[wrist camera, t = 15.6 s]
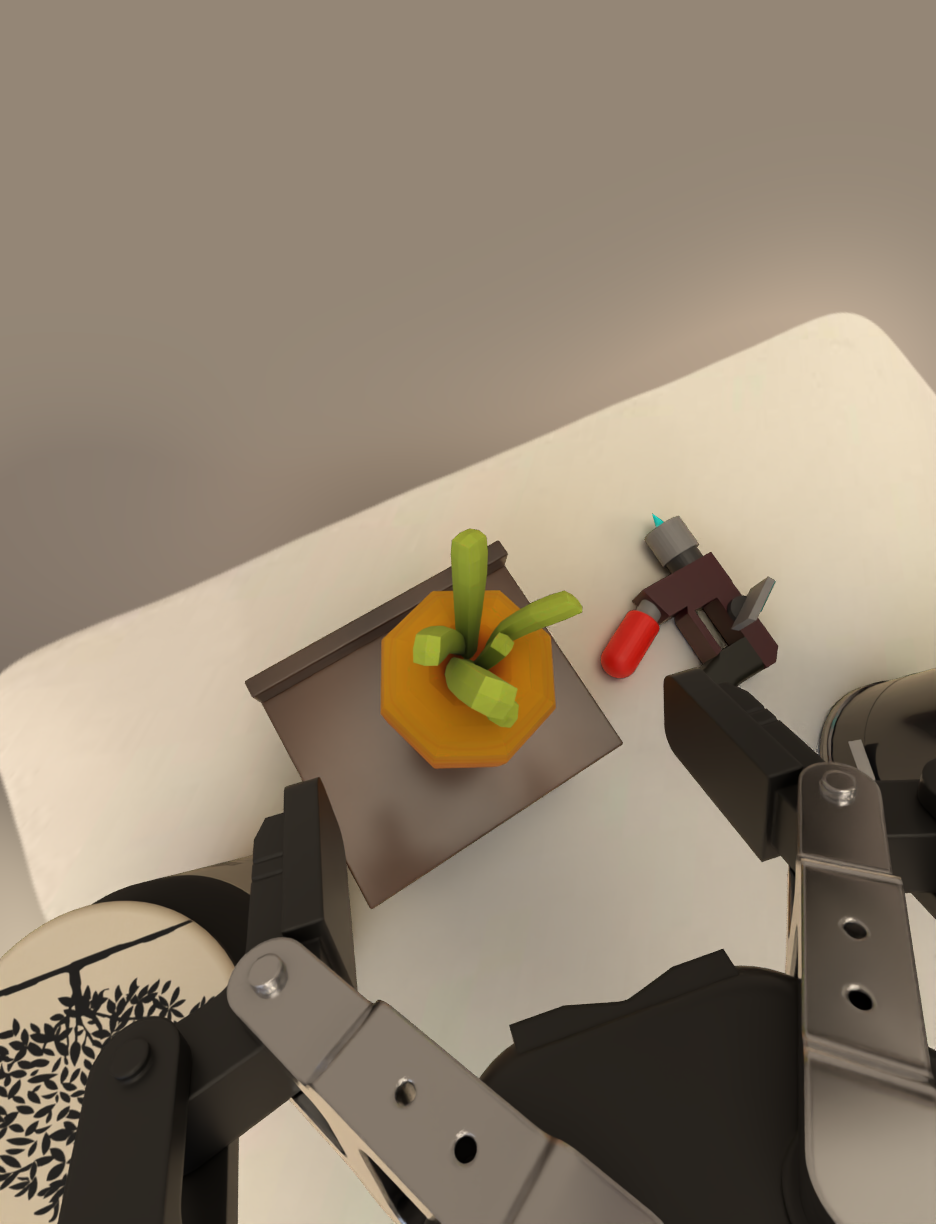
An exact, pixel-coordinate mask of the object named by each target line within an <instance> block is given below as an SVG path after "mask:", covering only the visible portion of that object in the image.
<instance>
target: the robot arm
mask: <svg viewBox="0 0 936 1224" xmlns="http://www.w3.org/2000/svg"><path fill="white" fill-rule="evenodd" d="M664 726H665V733H666V737H667V740H668V743H669V745H670V747H671V749H672V751H673V753H674V754H675V755H676V757H677V758H678V759H679V760H680V761H681V763H682V764H683V765H684V766H685V768H686V769H687V770H688V771H689V773H690V774H691V775H692V776H693V778H694V779H695V780H696V781H697V782H698V784H699V785H700V786H701V787H702V789H703V790H704V791H705V792H706V794H707V795H708V796H709V797H710V799H711V800H712V801H713V802H714V804H715V805H716V806H717V807H718V808H719V810H720V811H721V812H722V813H723V815H724V816H725V817H726V818H727V820H728V821H729V822H730V823H731V825H732V826H733V827H734V828H735V830H736V831H737V832H738V833H739V834H740V836H741V837H742V838H743V839H744V841H745V842H746V843H747V844H748V846H749V847H750V848H751V849H752V851H753V852H754V853H755V854H756V856H757V857H758V858H759V859H760V860H761V862H764V861H766V860H769V859H772V858H775V857H778V856H782V858H783V859H784V860H785V861H786V862H787V864H788V874H787V935H786V966H785V973H782V972H778V971H775V970H771V969H767V968H761V967H755V966H734V965H733V963H732V962H731V960H730V959H729V957H728V956H727V954H726V952H725V951H724V949H721V950H718V951H716V952H713V953H710V954H707V955H704V956H701V957H699V958H696V959H693V960H690V961H687V962H685V963H682V964H679V965H676V966H673V967H672V968H670V969H669V970H667V971H666V972H665V973H663V974H662V975H661V976H659V977H658V978H657V979H655V980H654V981H653V982H651V983H650V984H648V985H647V986H646V987H644V988H643V989H642V990H640V991H639V992H638V993H636V994H635V995H634V996H632V997H631V998H629V999H627V1000H625V1001H620V1002H608V1003H594V1004H580V1005H566V1006H561V1007H559V1008H556V1009H553V1010H550V1011H547V1012H545V1013H542V1014H539V1015H536V1016H533V1017H531V1018H528V1019H525V1020H522V1021H519V1022H517V1023H514V1024H511V1025H509V1026H510V1030H511V1034H512V1038H513V1042H514V1044H512V1045H511V1046H510V1047H508V1048H507V1049H506V1050H504V1051H503V1052H502V1053H501V1054H500V1055H499V1056H498V1057H497V1058H496V1059H495V1060H494V1061H492V1063H491V1064H490V1065H489V1066H488V1068H487V1069H486V1070H485V1071H484V1072H483V1074H482V1075H481V1077H480V1078H478V1077H476V1076H475V1075H474V1074H473V1073H472V1072H470V1071H469V1070H468V1069H467V1068H465V1067H464V1066H463V1065H462V1064H461V1063H459V1062H458V1061H457V1060H456V1059H455V1058H453V1057H452V1056H451V1055H450V1054H449V1053H447V1052H446V1051H445V1050H444V1049H443V1048H441V1047H440V1046H439V1045H438V1044H436V1043H435V1042H434V1041H433V1040H432V1039H430V1038H429V1037H428V1036H427V1035H426V1034H424V1033H423V1032H422V1031H421V1030H420V1029H418V1028H417V1027H416V1026H415V1025H414V1024H412V1023H411V1022H410V1021H409V1020H407V1019H406V1018H405V1017H404V1016H403V1015H401V1014H400V1013H399V1012H398V1011H397V1010H395V1009H394V1008H393V1007H392V1006H390V1005H389V1004H387V1003H386V1002H384V1001H381V1000H377V1001H376V1002H375V1003H371V1002H370V1001H368V1000H367V999H366V998H364V997H363V996H362V995H361V994H360V993H359V992H358V990H357V979H356V967H355V956H354V945H353V933H352V922H351V911H350V900H349V888H348V877H347V866H346V855H345V848H344V843H343V838H342V834H341V831H340V827H339V824H338V822H337V819H336V817H335V814H334V811H333V809H332V806H331V803H330V801H329V798H328V795H327V793H326V790H325V787H324V785H323V782H322V780H321V778H320V777H317V778H313V779H310V780H306V781H303V782H300V783H296V784H293V785H289V786H286V787H285V789H284V813H281V814H277V815H274V816H271V817H267V818H265V820H264V822H263V824H262V826H261V827H260V829H259V831H258V833H257V835H256V837H255V839H254V848H253V865H252V875H251V879H252V883H251V889H250V902H249V916H248V929H247V943H246V951H245V955H244V956H243V957H242V958H241V959H240V961H239V962H238V963H237V965H236V966H235V968H234V970H233V971H232V973H231V976H230V978H229V981H228V985H227V986H226V987H225V988H224V990H223V991H221V992H220V993H219V994H218V995H217V996H216V997H214V998H213V999H212V1000H210V1001H209V1002H207V1003H206V1004H204V1005H203V1006H201V1007H200V1008H198V1009H197V1010H195V1011H194V1012H192V1013H191V1014H189V1015H188V1016H186V1017H184V1018H183V1019H181V1020H180V1021H178V1022H177V1023H175V1024H174V1023H173V1022H172V1021H171V1020H169V1019H168V1018H166V1017H162V1016H150V1017H145V1018H142V1019H139V1020H137V1021H135V1022H133V1023H131V1024H129V1025H128V1026H126V1027H124V1028H123V1029H122V1030H121V1031H119V1032H118V1033H117V1034H116V1035H115V1036H114V1037H113V1038H111V1039H110V1040H109V1042H108V1043H107V1044H106V1045H105V1046H104V1047H103V1049H102V1050H101V1052H100V1053H99V1054H98V1056H97V1058H96V1059H95V1061H94V1063H93V1065H92V1067H91V1069H90V1072H89V1075H88V1079H87V1083H86V1087H85V1092H84V1097H83V1102H82V1107H81V1112H80V1116H79V1121H78V1126H77V1131H76V1136H75V1141H74V1145H73V1150H72V1155H71V1160H70V1165H69V1170H68V1174H67V1179H66V1184H65V1189H64V1194H63V1199H62V1204H61V1208H60V1213H59V1218H58V1223H57V1224H238V1155H239V1137H240V1136H241V1135H242V1134H244V1133H245V1132H246V1131H248V1130H249V1129H250V1128H252V1127H253V1126H254V1125H256V1124H257V1123H258V1122H260V1121H261V1120H262V1119H264V1118H265V1117H266V1116H268V1115H269V1114H270V1113H272V1112H273V1111H274V1110H276V1109H277V1108H278V1107H279V1106H281V1105H282V1104H283V1103H285V1102H286V1101H287V1100H290V1101H291V1102H292V1103H293V1105H294V1106H295V1107H296V1108H297V1109H298V1110H299V1111H300V1112H301V1113H302V1115H303V1116H304V1117H305V1118H306V1119H307V1120H308V1121H309V1122H310V1123H311V1125H312V1126H313V1127H314V1128H315V1129H316V1130H317V1131H318V1132H319V1133H320V1135H321V1136H322V1137H323V1138H324V1139H325V1140H326V1141H327V1142H328V1144H329V1145H330V1146H331V1147H332V1148H333V1149H334V1150H335V1151H336V1152H337V1154H338V1155H339V1156H340V1157H341V1158H342V1159H343V1160H344V1161H345V1162H346V1164H347V1165H348V1166H349V1167H350V1168H351V1169H352V1171H353V1172H354V1173H355V1174H356V1176H357V1177H358V1178H359V1179H360V1181H361V1182H362V1183H363V1185H364V1186H365V1188H366V1189H367V1190H368V1192H369V1193H370V1194H371V1195H372V1197H373V1198H374V1199H375V1200H376V1202H377V1203H378V1204H379V1205H380V1207H381V1208H382V1209H383V1210H384V1211H385V1212H386V1214H387V1215H388V1216H389V1217H390V1218H391V1219H392V1220H393V1221H394V1223H395V1224H936V1051H935V1050H934V1049H932V1048H930V1047H928V1044H927V1037H926V1031H925V1024H924V1018H923V1011H922V1004H921V998H920V991H919V985H918V978H917V972H916V965H915V958H914V952H913V945H912V939H911V932H910V925H909V919H908V912H907V906H906V899H905V893H912V894H913V895H914V897H915V898H916V899H917V900H918V901H919V902H920V903H921V904H922V905H923V906H924V907H925V908H926V909H927V911H928V912H929V913H930V914H931V915H932V916H933V917H934V918H935V919H936V668H933V669H930V670H926V671H923V672H919V673H915V674H911V675H908V676H904V677H901V678H897V679H894V680H889V681H881V682H877V683H873V684H869V685H866V686H863V687H860V688H858V689H855V690H853V691H852V692H850V693H848V694H847V695H845V696H844V697H843V698H842V699H841V700H840V701H839V702H838V703H837V704H836V705H835V706H834V707H833V709H832V710H831V712H830V713H829V715H828V717H827V719H826V721H825V724H824V727H823V730H822V735H821V742H820V756H819V755H818V754H817V753H815V752H814V751H813V750H812V749H811V748H810V747H809V746H808V745H807V744H805V743H804V742H803V741H802V740H801V739H800V738H799V737H798V736H797V735H795V734H794V733H793V732H792V731H791V730H790V729H789V728H788V727H787V726H785V725H784V724H783V723H782V722H781V721H780V720H779V721H778V720H777V718H776V717H775V716H774V715H773V714H772V713H771V712H770V711H769V710H768V709H764V706H763V705H762V704H761V703H760V702H759V701H758V700H757V699H755V698H754V697H753V696H752V695H751V694H750V693H749V692H747V691H745V690H743V689H741V688H738V687H736V686H734V685H732V684H730V683H727V682H724V683H721V684H716V683H715V682H714V681H713V680H712V679H711V678H710V677H709V676H708V675H707V674H706V673H705V672H704V671H703V670H701V669H700V668H697V667H696V668H692V669H689V670H685V671H682V672H678V673H675V674H672V675H668V676H666V677H665V679H664Z"/></svg>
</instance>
